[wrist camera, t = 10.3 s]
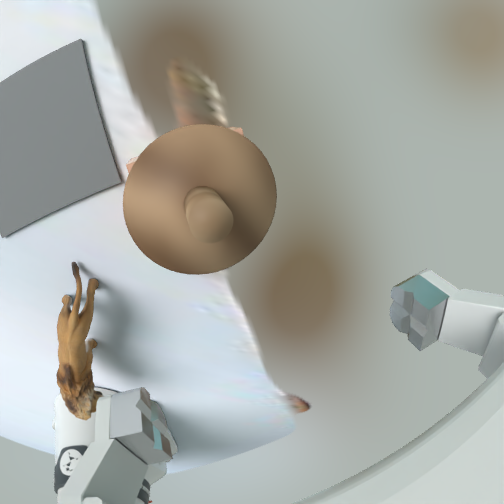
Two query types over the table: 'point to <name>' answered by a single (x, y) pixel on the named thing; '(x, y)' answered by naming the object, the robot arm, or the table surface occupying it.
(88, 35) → the table surface
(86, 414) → the lion figurine
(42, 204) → the mat
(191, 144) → the lid
